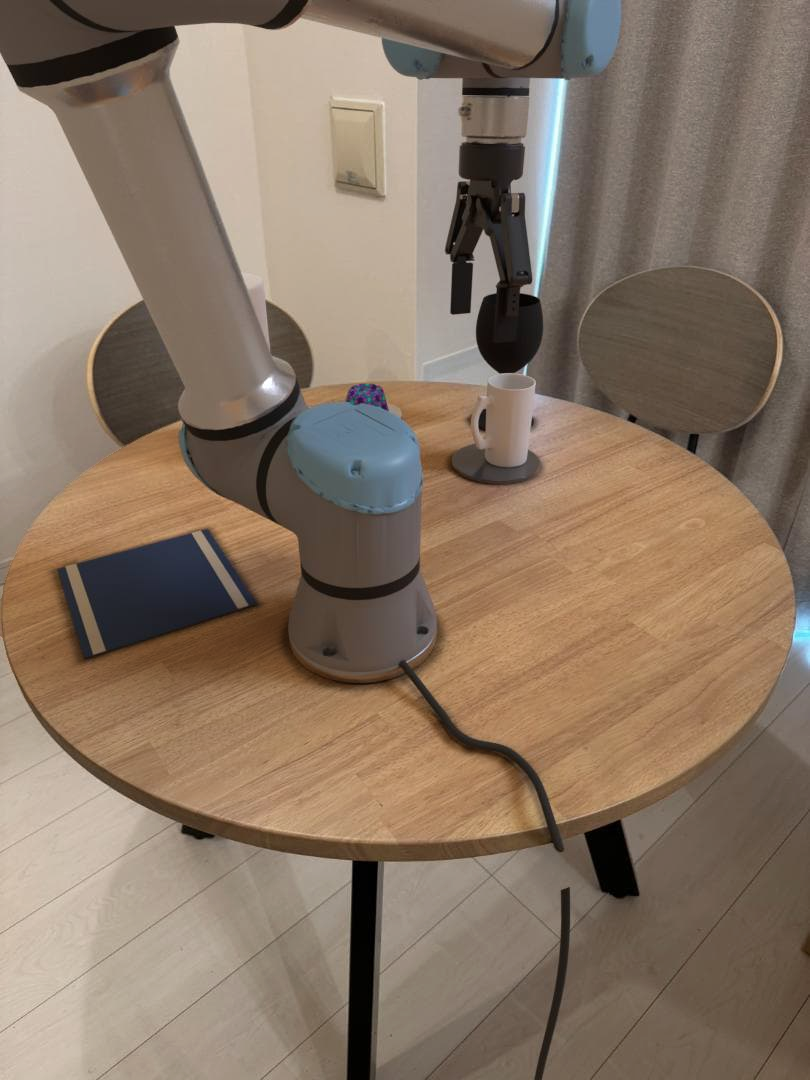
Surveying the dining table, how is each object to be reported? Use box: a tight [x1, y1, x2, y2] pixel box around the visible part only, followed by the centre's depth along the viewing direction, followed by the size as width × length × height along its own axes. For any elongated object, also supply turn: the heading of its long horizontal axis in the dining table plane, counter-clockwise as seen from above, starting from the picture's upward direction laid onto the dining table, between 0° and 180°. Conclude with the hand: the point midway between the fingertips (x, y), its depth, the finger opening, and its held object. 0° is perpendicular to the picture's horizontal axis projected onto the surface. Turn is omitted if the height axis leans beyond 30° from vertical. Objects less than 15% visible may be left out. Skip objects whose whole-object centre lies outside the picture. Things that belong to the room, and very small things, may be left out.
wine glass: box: [475, 292, 544, 432], centre depth 118 cm, size 10×10×20 cm
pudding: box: [345, 383, 403, 419], centre depth 123 cm, size 12×12×5 cm
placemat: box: [56, 528, 258, 660], centre depth 84 cm, size 18×18×1 cm
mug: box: [470, 373, 537, 467], centre depth 106 cm, size 10×7×12 cm, turn 121°
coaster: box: [451, 443, 541, 485], centre depth 110 cm, size 13×13×1 cm
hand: (481, 326), depth 96 cm, fingers open, 13 cm apart
